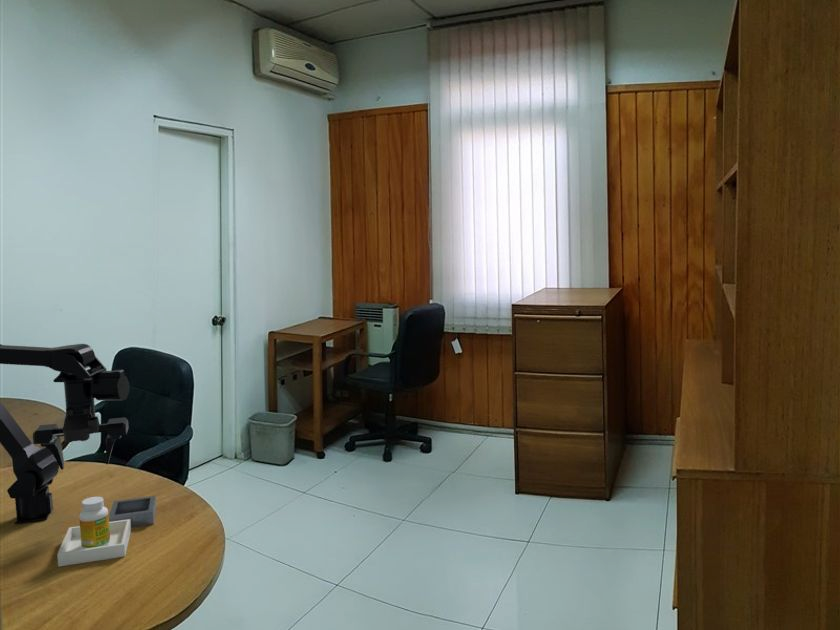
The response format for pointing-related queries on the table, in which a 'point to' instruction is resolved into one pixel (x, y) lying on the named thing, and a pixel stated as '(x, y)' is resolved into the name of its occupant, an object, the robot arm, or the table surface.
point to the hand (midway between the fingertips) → (85, 466)
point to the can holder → (134, 511)
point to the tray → (76, 554)
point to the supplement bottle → (94, 523)
